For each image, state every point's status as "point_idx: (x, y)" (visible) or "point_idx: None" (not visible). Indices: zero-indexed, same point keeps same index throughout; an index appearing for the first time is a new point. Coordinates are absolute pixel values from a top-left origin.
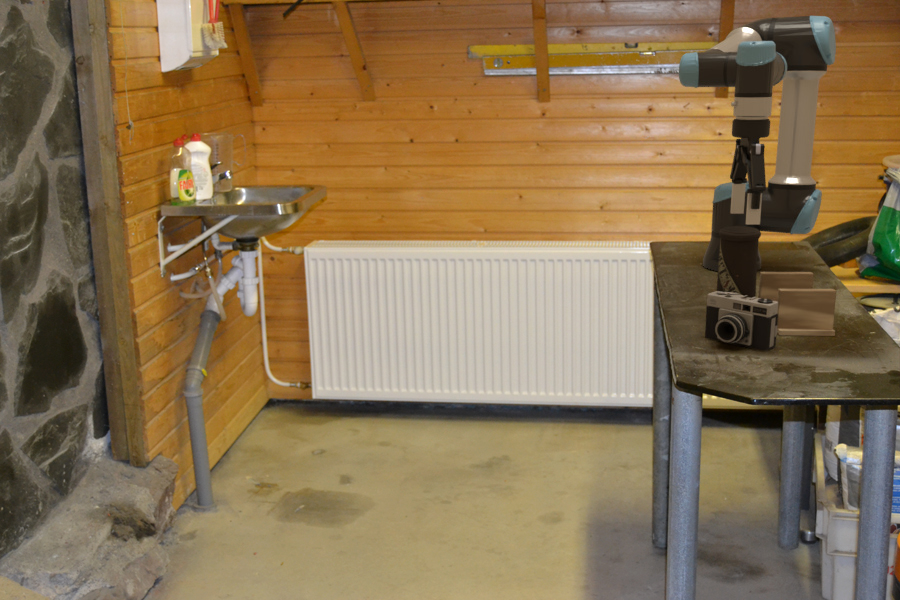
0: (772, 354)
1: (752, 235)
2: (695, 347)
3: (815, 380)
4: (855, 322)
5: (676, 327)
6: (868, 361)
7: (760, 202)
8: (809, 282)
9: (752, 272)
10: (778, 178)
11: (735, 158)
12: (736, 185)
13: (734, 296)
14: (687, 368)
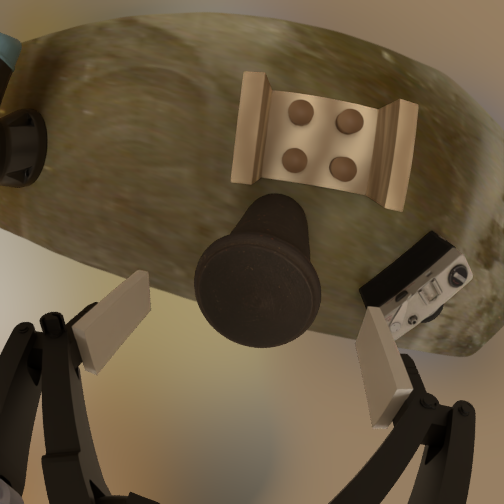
0: None
1: (318, 284)
2: None
3: None
4: (331, 48)
5: (320, 326)
6: (491, 145)
7: (399, 362)
8: (266, 85)
9: (304, 234)
10: None
11: (27, 449)
12: (95, 360)
13: (416, 310)
14: (452, 348)
